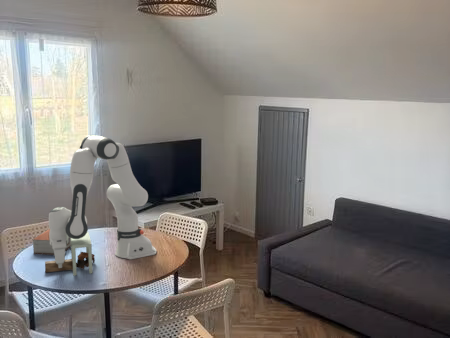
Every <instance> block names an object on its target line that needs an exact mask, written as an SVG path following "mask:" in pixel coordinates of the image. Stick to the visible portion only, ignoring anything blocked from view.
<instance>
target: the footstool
mask: <svg viewBox="0 0 450 338" xmlns="http://www.w3.org/2000/svg"><path fill="white" fill-rule="evenodd" d="M81 248H85V251H86V253H88V255H89V267H88V274H93V273H94V272H93V260H92V254H93V251H92V250H93V249H92V240H91V237H90V232H89V231H87V233H86V235H85V236H84V237H82V238H80V239H73V238H71V247H70V251H71V253H70V254H71V258H72V259H73V271H72V274H73V276H74V277H76V276H77V267H76V263H77V256H76V252H77V251H76V249H81Z"/></svg>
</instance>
